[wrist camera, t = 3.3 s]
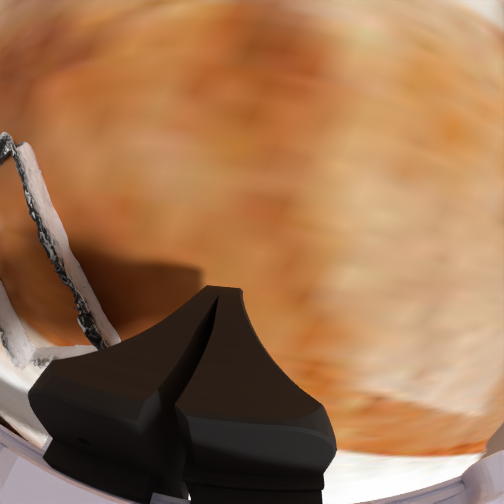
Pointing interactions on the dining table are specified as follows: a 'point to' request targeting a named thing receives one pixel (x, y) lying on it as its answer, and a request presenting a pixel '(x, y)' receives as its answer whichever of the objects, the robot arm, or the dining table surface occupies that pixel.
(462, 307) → the dining table surface
